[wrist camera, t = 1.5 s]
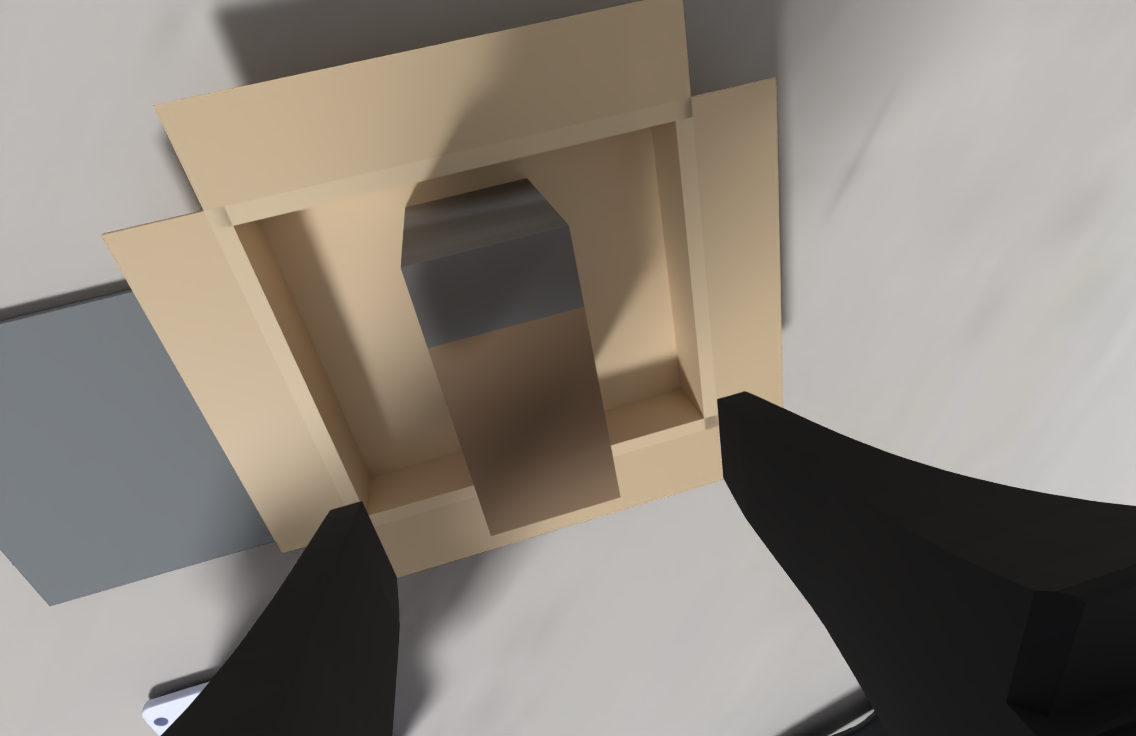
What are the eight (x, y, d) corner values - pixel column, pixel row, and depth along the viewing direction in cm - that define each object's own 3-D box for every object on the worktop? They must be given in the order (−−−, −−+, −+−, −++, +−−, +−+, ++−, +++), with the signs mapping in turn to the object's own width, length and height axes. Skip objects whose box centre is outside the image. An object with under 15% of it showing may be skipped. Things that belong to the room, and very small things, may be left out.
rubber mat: (278, 533, 23) (276, 540, 23) (55, 597, 22) (49, 606, 22) (140, 287, 18) (134, 291, 18) (-152, 357, 17) (-163, 363, 17)
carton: (753, 426, 26) (784, 461, 24) (320, 554, 24) (311, 604, 22) (730, -18, 18) (773, -28, 16) (90, 119, 16) (40, 129, 14)
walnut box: (573, 395, 23) (620, 497, 18) (473, 423, 22) (490, 536, 17) (526, 178, 19) (568, 225, 14) (405, 207, 19) (400, 267, 13)
